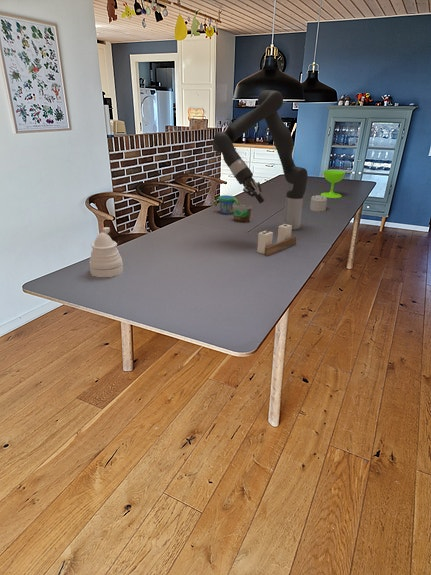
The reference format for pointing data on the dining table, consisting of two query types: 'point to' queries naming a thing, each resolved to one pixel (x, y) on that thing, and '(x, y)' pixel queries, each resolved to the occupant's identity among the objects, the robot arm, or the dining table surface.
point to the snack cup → (226, 203)
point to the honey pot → (105, 256)
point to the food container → (242, 212)
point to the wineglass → (333, 177)
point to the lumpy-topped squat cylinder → (318, 203)
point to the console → (280, 246)
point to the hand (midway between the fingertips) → (262, 202)
